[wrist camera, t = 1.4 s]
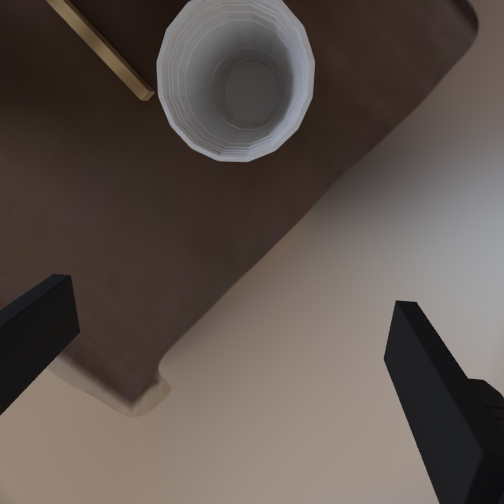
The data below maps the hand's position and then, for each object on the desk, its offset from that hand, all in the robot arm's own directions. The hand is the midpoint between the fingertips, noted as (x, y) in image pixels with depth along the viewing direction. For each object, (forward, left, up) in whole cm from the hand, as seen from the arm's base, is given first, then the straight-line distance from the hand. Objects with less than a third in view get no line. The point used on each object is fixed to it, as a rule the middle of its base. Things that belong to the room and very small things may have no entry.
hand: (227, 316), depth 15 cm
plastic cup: (-8, +6, -26) cm, 27 cm away
